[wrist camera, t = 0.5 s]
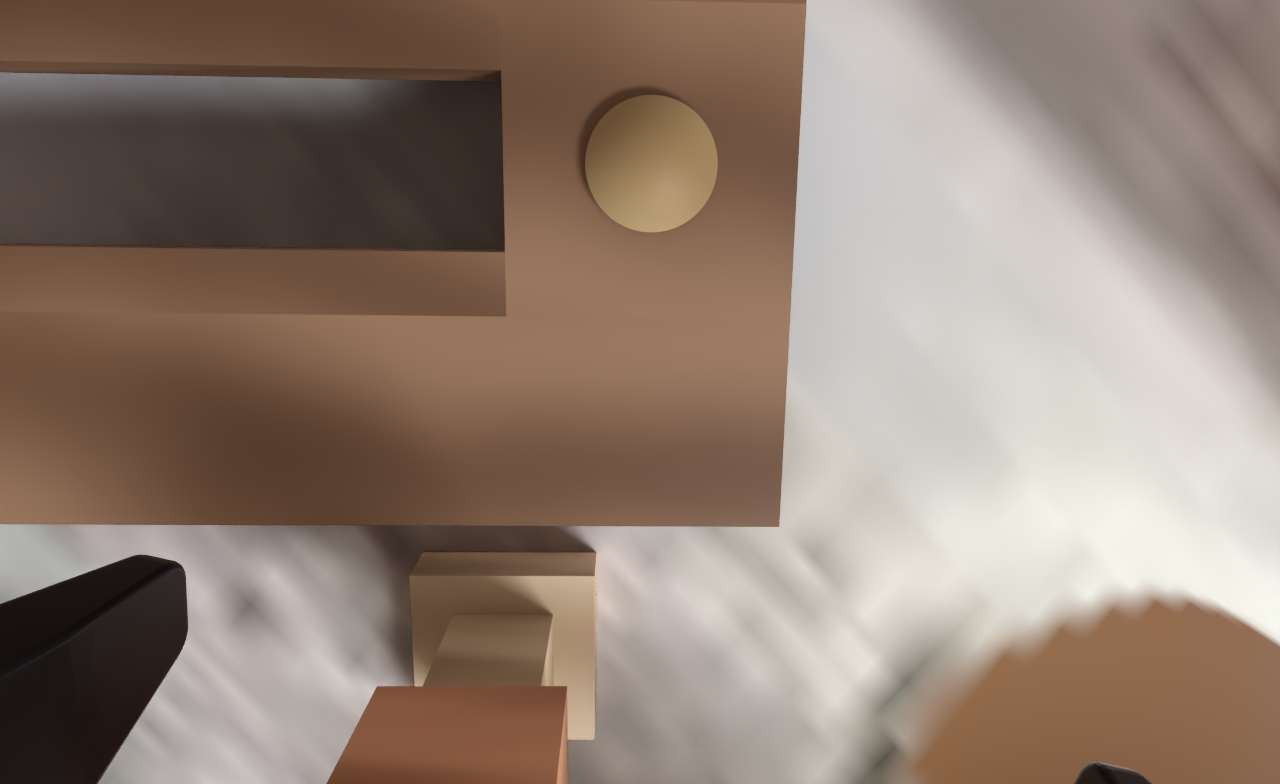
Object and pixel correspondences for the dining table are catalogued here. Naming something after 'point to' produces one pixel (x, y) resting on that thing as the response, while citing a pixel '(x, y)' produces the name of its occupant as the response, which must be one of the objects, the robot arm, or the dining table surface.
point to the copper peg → (486, 674)
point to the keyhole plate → (434, 286)
